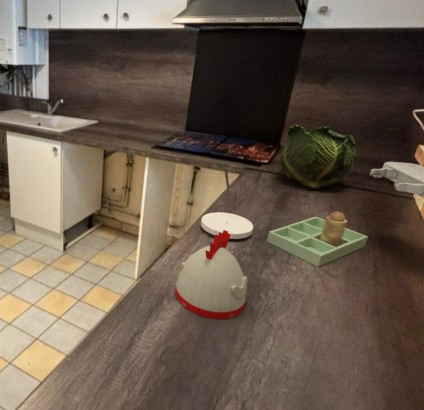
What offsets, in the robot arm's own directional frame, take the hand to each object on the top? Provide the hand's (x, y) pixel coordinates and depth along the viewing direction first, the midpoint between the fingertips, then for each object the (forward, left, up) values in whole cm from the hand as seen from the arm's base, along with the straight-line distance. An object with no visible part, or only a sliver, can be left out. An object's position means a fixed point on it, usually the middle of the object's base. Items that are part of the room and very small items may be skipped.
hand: (383, 179), depth 84 cm
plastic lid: (+25, +21, -20) cm, 38 cm away
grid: (+8, +6, -20) cm, 22 cm away
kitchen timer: (+5, +48, -20) cm, 52 cm away
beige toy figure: (+5, +5, -19) cm, 20 cm away
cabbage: (+38, -39, -20) cm, 58 cm away
